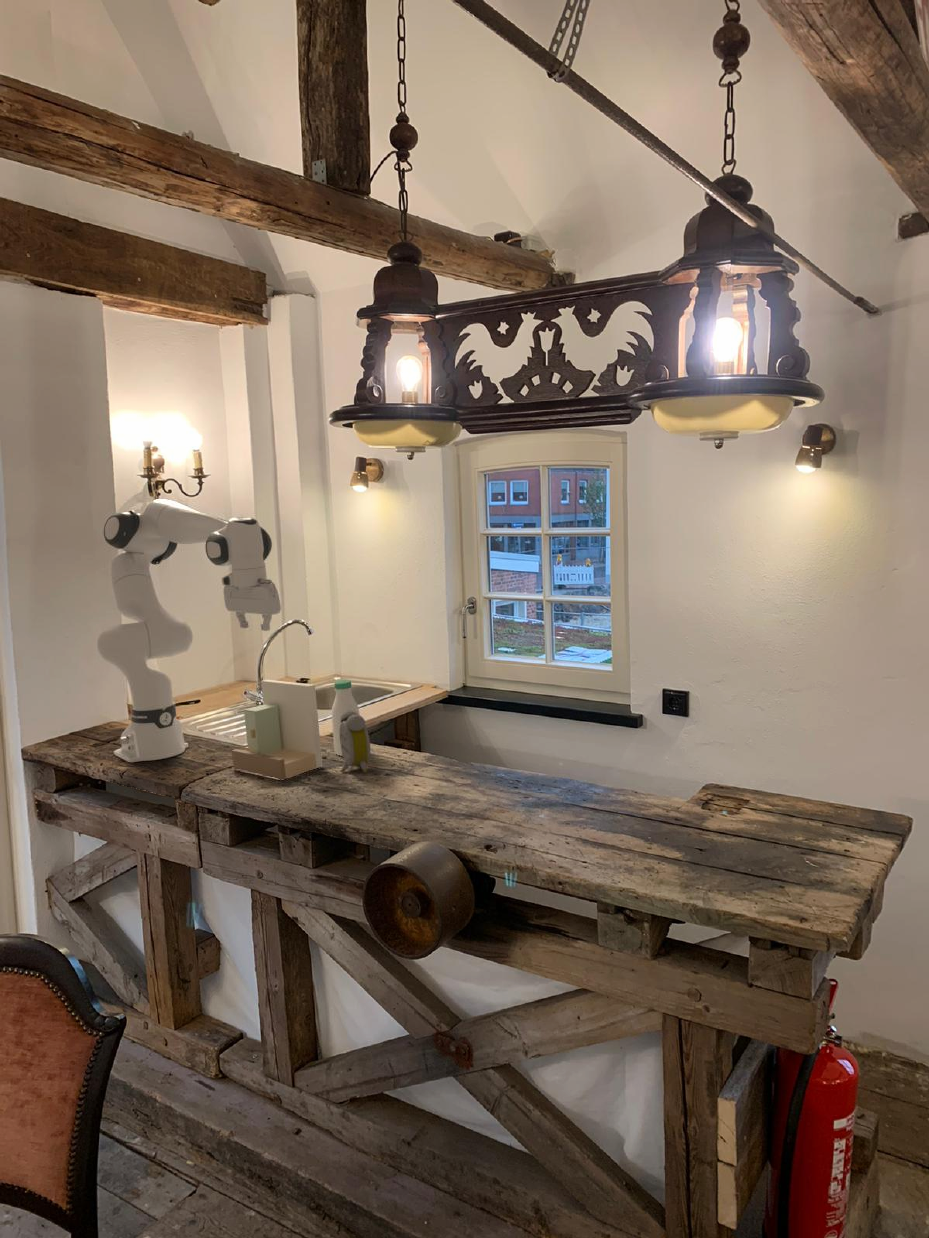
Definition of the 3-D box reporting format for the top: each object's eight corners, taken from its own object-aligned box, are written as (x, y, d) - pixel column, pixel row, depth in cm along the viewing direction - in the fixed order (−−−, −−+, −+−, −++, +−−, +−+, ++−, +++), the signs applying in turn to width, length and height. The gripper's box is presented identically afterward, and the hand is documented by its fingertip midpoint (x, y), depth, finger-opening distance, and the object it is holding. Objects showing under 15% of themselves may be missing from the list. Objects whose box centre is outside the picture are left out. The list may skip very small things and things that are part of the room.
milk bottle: (360, 755, 236) (354, 683, 233) (332, 757, 236) (326, 685, 233) (364, 748, 243) (358, 678, 241) (337, 749, 243) (331, 680, 241)
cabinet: (245, 754, 230) (240, 710, 228) (270, 747, 236) (265, 704, 234) (256, 757, 226) (252, 712, 225) (281, 749, 232) (277, 705, 231)
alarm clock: (373, 773, 218) (368, 715, 216) (346, 778, 216) (341, 719, 214) (361, 762, 229) (356, 707, 227) (335, 767, 226) (330, 710, 225)
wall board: (233, 770, 230) (225, 689, 227) (274, 757, 240) (267, 679, 237) (281, 781, 217) (272, 695, 214) (322, 767, 227) (314, 684, 224)
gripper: (283, 578, 227) (288, 629, 229) (237, 575, 240) (242, 624, 243) (263, 581, 222) (269, 634, 225) (217, 578, 235) (223, 628, 238)
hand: (255, 629), depth 234 cm, fingers open, 8 cm apart
